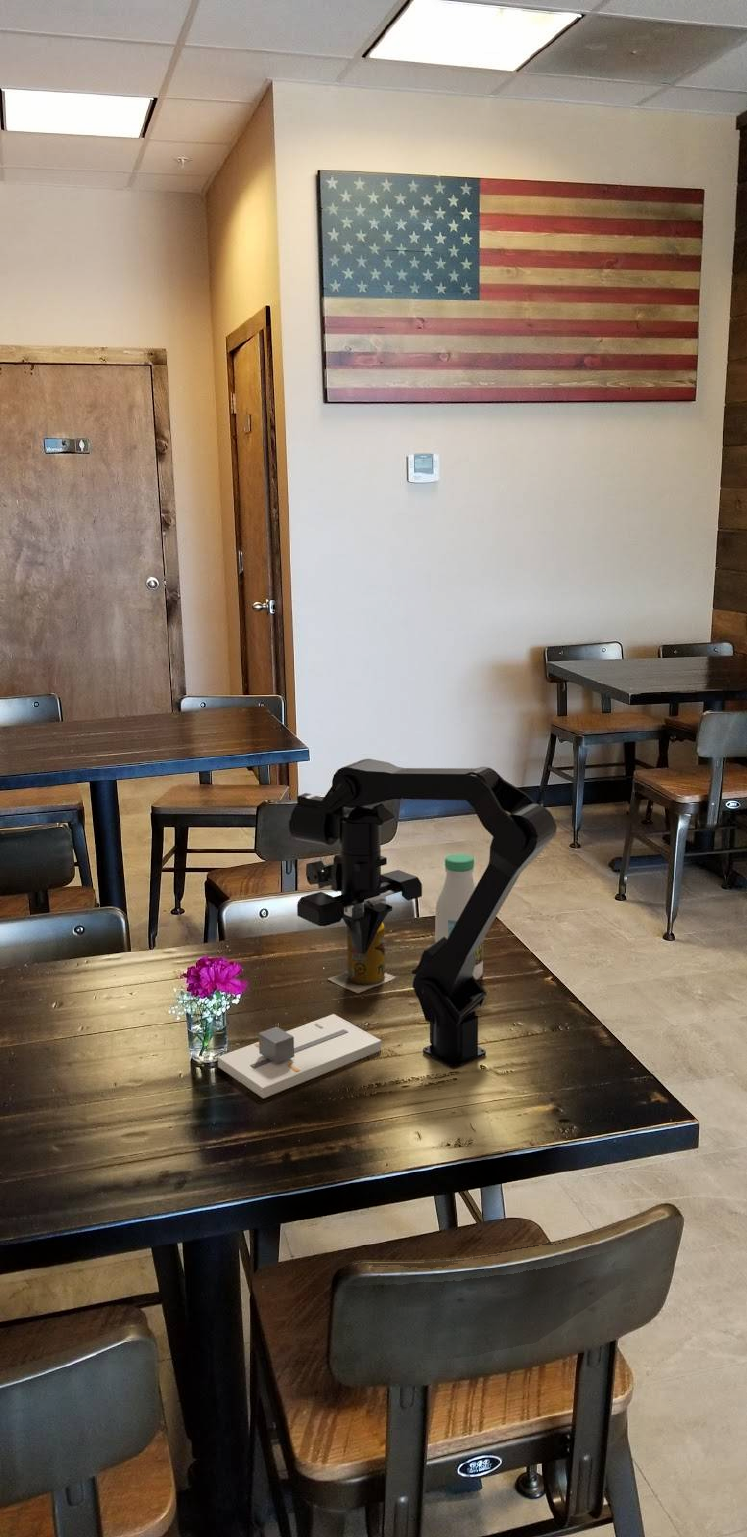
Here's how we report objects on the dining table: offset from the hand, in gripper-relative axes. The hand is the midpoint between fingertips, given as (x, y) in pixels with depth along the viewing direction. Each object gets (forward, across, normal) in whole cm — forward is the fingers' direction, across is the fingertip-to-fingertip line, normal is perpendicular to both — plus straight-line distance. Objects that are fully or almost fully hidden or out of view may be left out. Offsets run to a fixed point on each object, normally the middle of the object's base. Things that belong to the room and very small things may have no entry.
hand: (362, 953), depth 162 cm
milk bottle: (+12, -24, -5) cm, 27 cm away
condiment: (+12, -11, -14) cm, 22 cm away
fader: (+10, +16, +1) cm, 19 cm away
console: (+12, +12, +1) cm, 17 cm away
